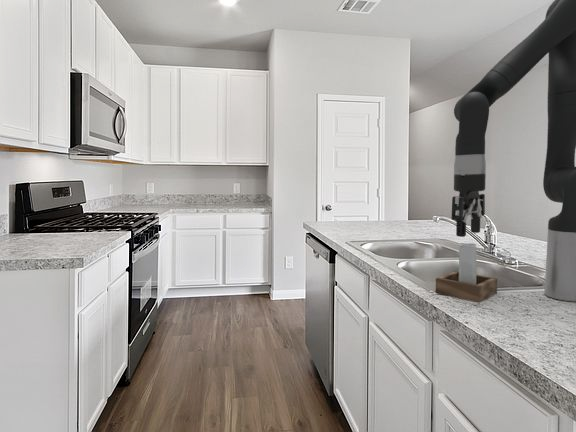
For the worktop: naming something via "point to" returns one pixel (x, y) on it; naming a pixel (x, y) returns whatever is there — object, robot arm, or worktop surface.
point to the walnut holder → (466, 287)
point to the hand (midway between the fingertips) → (468, 234)
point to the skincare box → (467, 263)
